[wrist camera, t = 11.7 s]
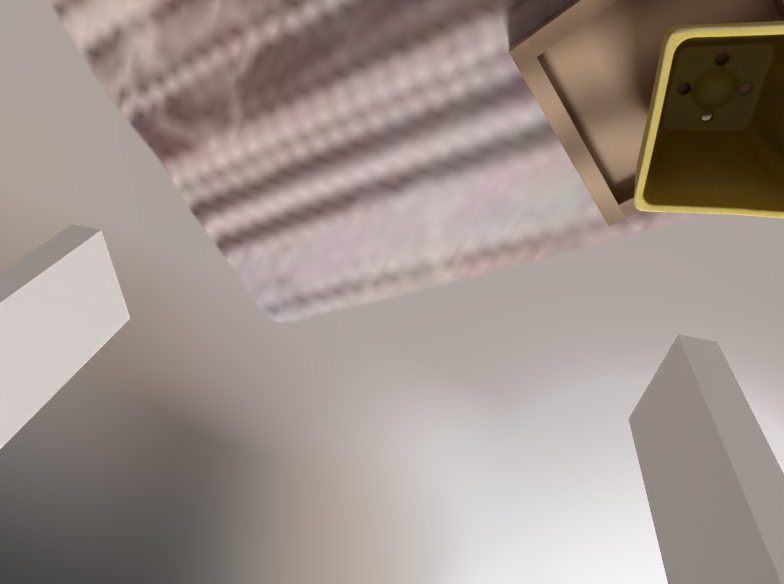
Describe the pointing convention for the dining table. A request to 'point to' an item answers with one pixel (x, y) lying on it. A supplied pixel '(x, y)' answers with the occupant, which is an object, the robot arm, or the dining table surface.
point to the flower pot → (716, 123)
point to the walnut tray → (613, 80)
